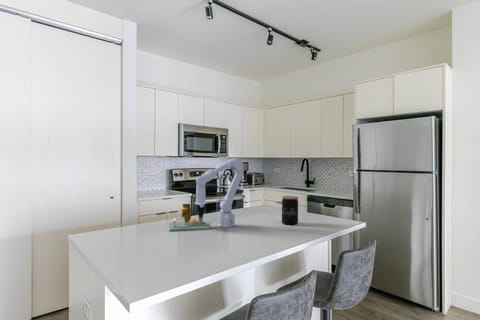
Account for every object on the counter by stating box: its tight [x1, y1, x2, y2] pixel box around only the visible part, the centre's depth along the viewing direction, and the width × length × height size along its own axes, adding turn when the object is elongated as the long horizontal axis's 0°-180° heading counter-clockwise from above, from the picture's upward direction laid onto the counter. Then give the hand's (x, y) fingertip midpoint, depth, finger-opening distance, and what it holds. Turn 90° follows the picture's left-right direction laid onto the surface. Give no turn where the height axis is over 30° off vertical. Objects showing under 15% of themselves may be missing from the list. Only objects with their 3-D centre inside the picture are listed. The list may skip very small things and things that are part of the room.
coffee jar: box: [281, 195, 299, 226], centre depth 186 cm, size 11×11×18 cm
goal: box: [173, 217, 185, 228], centre depth 173 cm, size 6×8×4 cm
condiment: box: [181, 203, 192, 223], centre depth 190 cm, size 7×8×12 cm
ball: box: [189, 218, 197, 225], centre depth 175 cm, size 4×4×4 cm
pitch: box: [168, 221, 211, 232], centre depth 174 cm, size 24×16×2 cm, turn 104°
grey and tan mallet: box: [197, 212, 204, 224], centre depth 176 cm, size 3×4×8 cm
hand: (200, 216), depth 176 cm, fingers open, 3 cm apart
